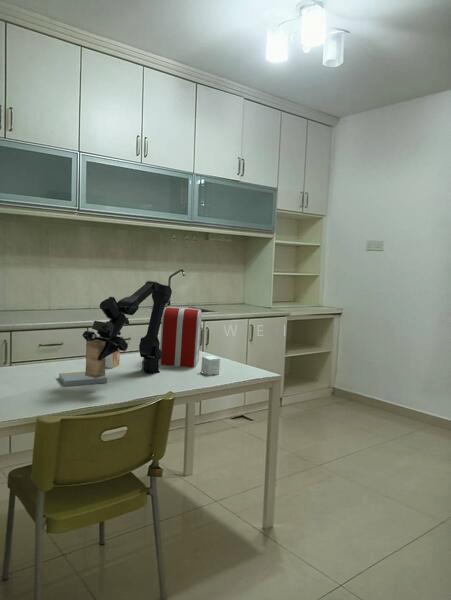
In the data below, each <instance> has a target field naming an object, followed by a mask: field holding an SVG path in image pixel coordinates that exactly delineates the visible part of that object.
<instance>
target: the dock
mask: <svg viewBox="0 0 451 600" xmlns="http://www.w3.org/2000/svg"><path fill="white" fill-rule="evenodd" d="M85 372H86V370H81V371H80V370H79V371H66V372H65V371H64V372H59V373H58V378H59V380H60V381H61V382H62V384H63V385H64V386H65V387H71V386H72V387H73V386H84V385H95V384H107V382H108V378H107V376H106V375H105V376H101V377H98V378H92V377H88V376H85Z"/></svg>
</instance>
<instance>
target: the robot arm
mask: <svg viewBox="0 0 451 600" xmlns="http://www.w3.org/2000/svg"><path fill="white" fill-rule="evenodd" d="M172 292H173V289H172V288H171V286H170V285H166V284H162V283H160V282H158V281H155V280H154V281H152V280H148V281H145V284H144V285H142V286H140V288H139V289H138V290H136V291H135V292H134V293H132V294H131V295H128V296H126V297H123V298H121V299H119V300H118V301H117V300H116V298H115V297H114V296H109V297H108V298H106V299H103V300H102V301H101V302H100V304H99V309H100V310H101V311H102V312H103V315H105V317H106V318H107V319H109V320H107V321H106V322H103V321H98V320H94V321H93V324H92V327H91V329H92V330H95V331H97V332H96V333H95V332H94V331H90V330H85V331H84V332H83V333H82V334H81V336H82V337H83V339H84V340H85V341H86V342H87V341H92V340H100V341H105V342H106V343H105V347H104V349H103V351H102V352H101V354H100V356H99V358H98V360H99V361H100V360H102V359H104V358H105V357H107V356H108V355H110V354H112V353H114V352H116V351H117V352H118V348H119V350H120V352H121V351H122V352H126V351H127V350H128V347H129V344H128V343H127V341H126V340H125V338H124V337H123V336H121V335H122V333H121V331H122V328H123V327H124V325H130V321H129V317H127V316H133V315H135V313H136V312H137V311H138V310H139V308H140V305H141V303H142V302H144V301H145V300H146V299H147V298H148V297H149V296H151V299H152V302H153V305H152V309H151V314H150V318H149V322H148V325H147V331H146V334H145V335H144V337H140V341H139V345H138V351H139V356H140V358H142V362H141V371H142V372H144V373H145V374H153V373H154V374H155V373H160V370H159V368H160V367H159V366H160V365H159V360H160V359H162V356H163V353H162V352H161V350H160V343H161V342H160V340H159V338H158V337H159V333H160V332H159V331H160V328H161V325H162V315H163V311H164V309H165V306H166V305H167V304H168V302H170V300H171V296H172V294H173V293H172ZM98 335H99V336H98Z"/></svg>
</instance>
